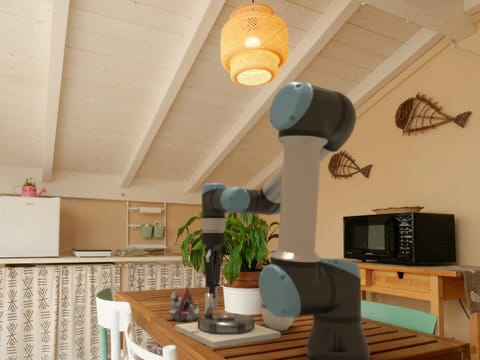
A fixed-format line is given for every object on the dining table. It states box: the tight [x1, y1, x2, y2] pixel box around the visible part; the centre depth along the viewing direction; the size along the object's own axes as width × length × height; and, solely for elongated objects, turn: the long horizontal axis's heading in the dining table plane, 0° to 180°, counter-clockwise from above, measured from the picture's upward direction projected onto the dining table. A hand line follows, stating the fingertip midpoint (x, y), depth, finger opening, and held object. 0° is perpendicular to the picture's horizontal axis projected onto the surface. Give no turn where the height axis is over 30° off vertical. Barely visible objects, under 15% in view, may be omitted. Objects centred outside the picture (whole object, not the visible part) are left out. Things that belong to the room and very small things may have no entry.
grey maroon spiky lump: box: [167, 286, 201, 322], centre depth 143 cm, size 11×11×12 cm
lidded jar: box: [260, 301, 295, 332], centre depth 130 cm, size 11×11×9 cm
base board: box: [174, 321, 282, 349], centre depth 122 cm, size 24×22×2 cm
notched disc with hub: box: [197, 292, 255, 334], centre depth 123 cm, size 16×17×9 cm
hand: (212, 308), depth 129 cm, fingers closed
